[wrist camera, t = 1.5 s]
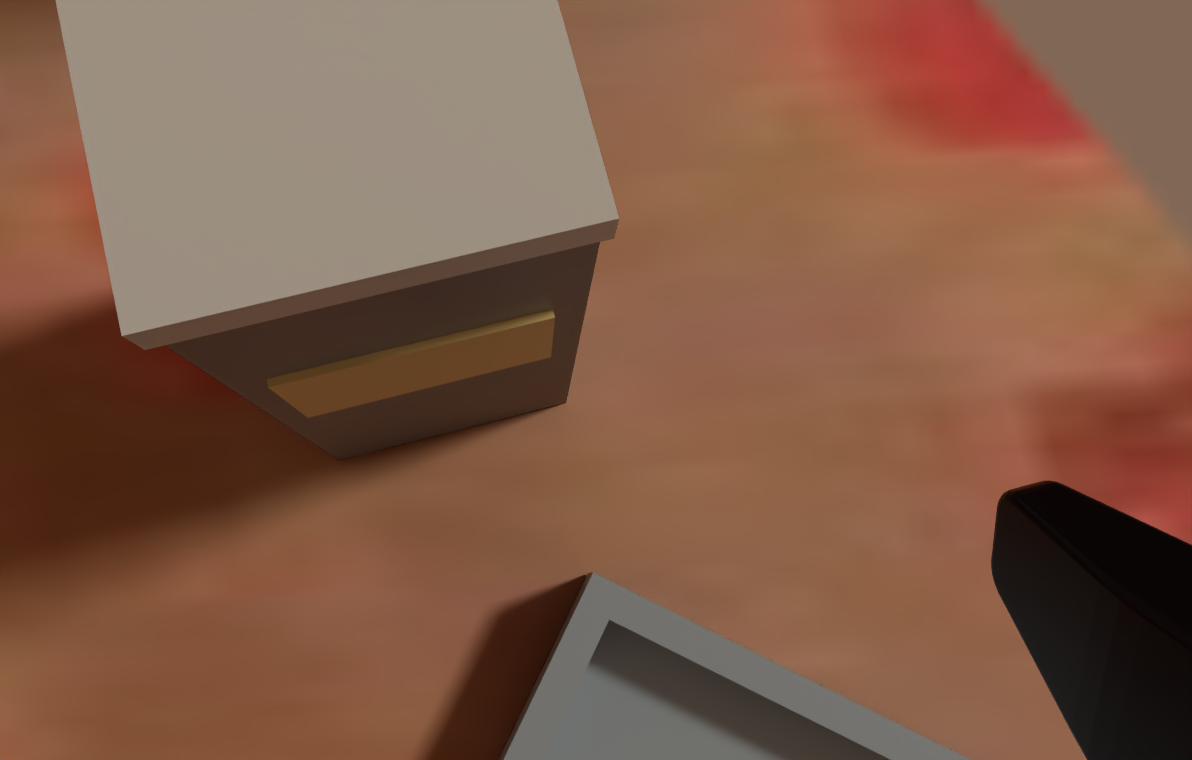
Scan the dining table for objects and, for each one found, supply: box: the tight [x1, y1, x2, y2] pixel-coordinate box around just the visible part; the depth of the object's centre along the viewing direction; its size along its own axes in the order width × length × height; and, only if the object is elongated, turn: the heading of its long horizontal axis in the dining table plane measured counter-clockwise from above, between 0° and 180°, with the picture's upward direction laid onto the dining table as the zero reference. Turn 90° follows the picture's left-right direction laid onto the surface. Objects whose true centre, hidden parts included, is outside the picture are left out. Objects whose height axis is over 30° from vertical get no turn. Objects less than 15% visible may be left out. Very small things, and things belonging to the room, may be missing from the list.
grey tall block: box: [56, 0, 619, 460], centre depth 16 cm, size 5×5×11 cm
